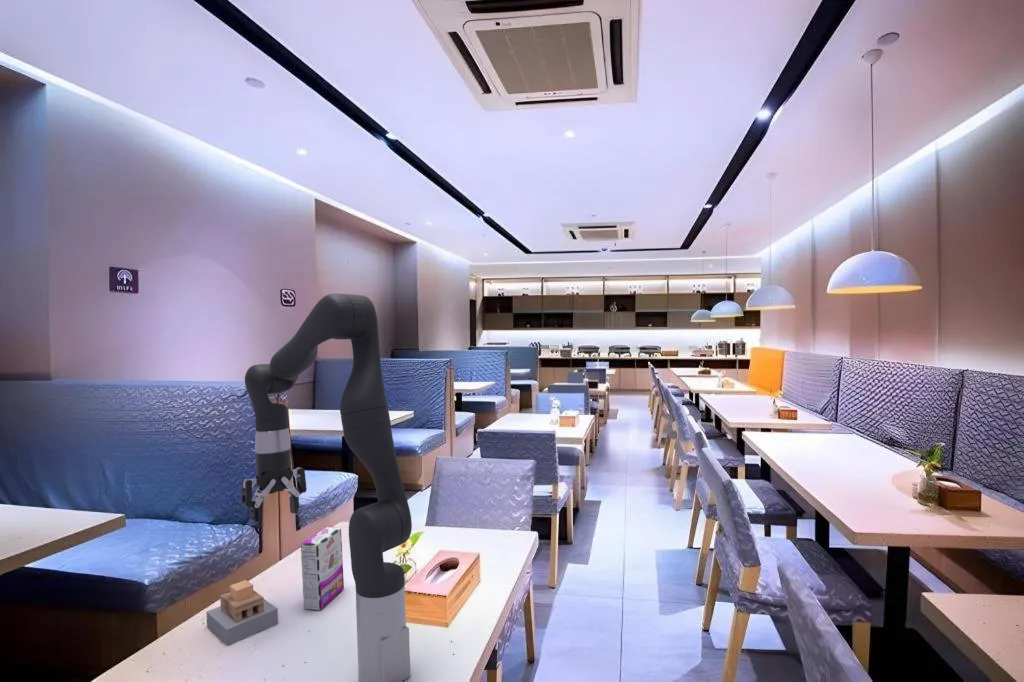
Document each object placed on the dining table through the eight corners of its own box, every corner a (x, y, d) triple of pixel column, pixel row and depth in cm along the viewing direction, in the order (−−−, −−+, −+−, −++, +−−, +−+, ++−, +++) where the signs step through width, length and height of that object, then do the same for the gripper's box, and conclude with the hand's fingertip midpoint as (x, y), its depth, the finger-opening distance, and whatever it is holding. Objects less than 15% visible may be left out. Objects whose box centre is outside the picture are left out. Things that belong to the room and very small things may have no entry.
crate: (253, 596, 120) (253, 584, 120) (237, 602, 117) (236, 590, 117) (246, 590, 122) (245, 579, 122) (230, 596, 120) (229, 585, 120)
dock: (278, 623, 120) (277, 608, 120) (227, 645, 112) (226, 629, 112) (256, 607, 128) (255, 592, 128) (207, 626, 120) (206, 611, 120)
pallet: (264, 611, 119) (263, 597, 119) (236, 622, 114) (235, 608, 114) (247, 598, 125) (247, 585, 125) (220, 609, 120) (220, 595, 120)
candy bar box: (327, 588, 137) (325, 526, 137) (344, 589, 136) (342, 526, 136) (301, 610, 126) (299, 542, 126) (320, 611, 125) (318, 543, 125)
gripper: (248, 456, 114) (252, 530, 114) (309, 444, 125) (313, 512, 125) (234, 452, 119) (237, 523, 119) (294, 441, 130) (297, 506, 129)
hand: (276, 517), depth 122 cm, fingers open, 8 cm apart
